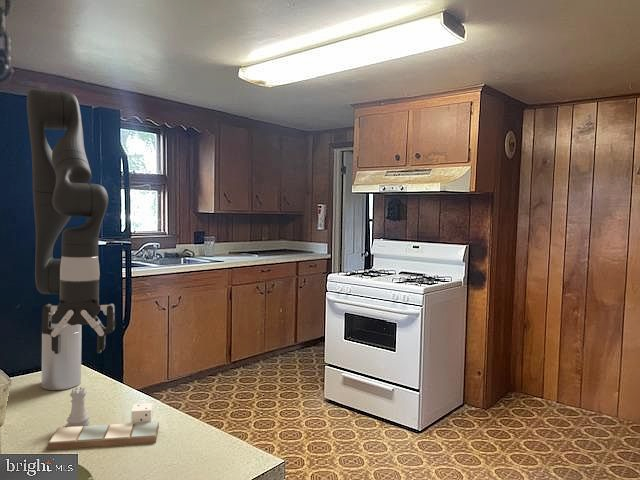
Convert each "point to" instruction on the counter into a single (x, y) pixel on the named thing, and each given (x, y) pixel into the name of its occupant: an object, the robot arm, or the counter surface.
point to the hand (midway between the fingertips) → (78, 352)
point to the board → (104, 435)
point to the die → (142, 413)
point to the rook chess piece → (78, 409)
